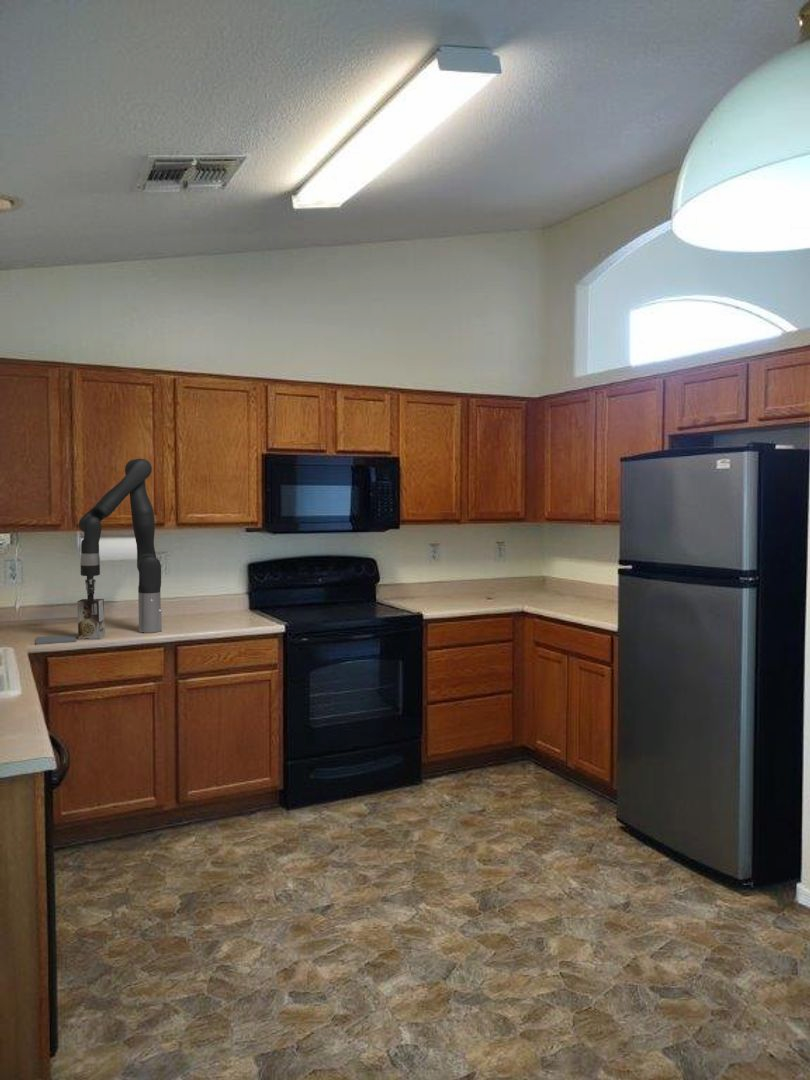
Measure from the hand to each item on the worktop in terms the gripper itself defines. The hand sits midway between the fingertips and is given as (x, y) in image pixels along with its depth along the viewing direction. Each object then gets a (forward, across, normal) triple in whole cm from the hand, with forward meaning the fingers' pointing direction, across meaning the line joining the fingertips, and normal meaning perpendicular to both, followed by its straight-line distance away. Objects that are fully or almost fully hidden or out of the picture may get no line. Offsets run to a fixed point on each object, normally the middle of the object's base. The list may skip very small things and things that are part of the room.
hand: (90, 602), depth 326 cm
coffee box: (+15, 0, 0) cm, 15 cm away
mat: (+15, 0, +13) cm, 20 cm away
